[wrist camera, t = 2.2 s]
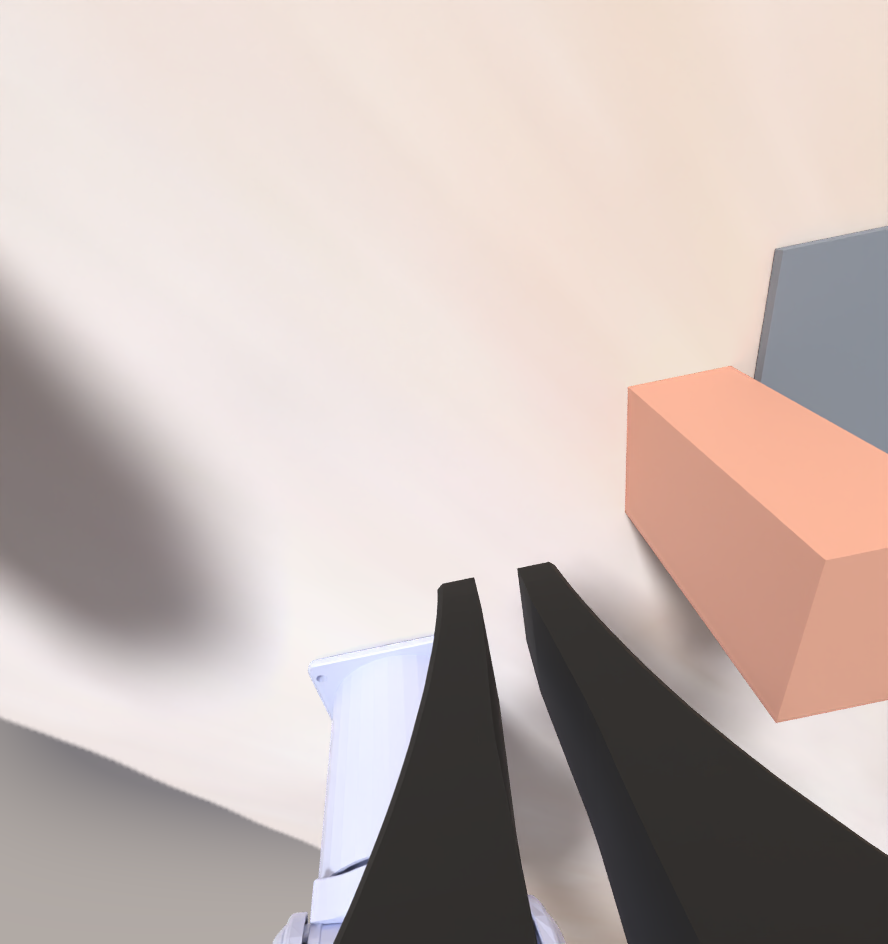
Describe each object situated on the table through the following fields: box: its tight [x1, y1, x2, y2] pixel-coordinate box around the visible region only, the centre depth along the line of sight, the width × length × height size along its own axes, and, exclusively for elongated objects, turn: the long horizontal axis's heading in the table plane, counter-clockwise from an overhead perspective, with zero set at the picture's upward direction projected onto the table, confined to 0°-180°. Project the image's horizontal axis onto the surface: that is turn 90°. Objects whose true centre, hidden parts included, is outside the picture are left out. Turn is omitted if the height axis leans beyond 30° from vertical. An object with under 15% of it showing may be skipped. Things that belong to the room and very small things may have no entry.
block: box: [625, 366, 888, 723], centre depth 16 cm, size 6×4×10 cm, turn 10°
